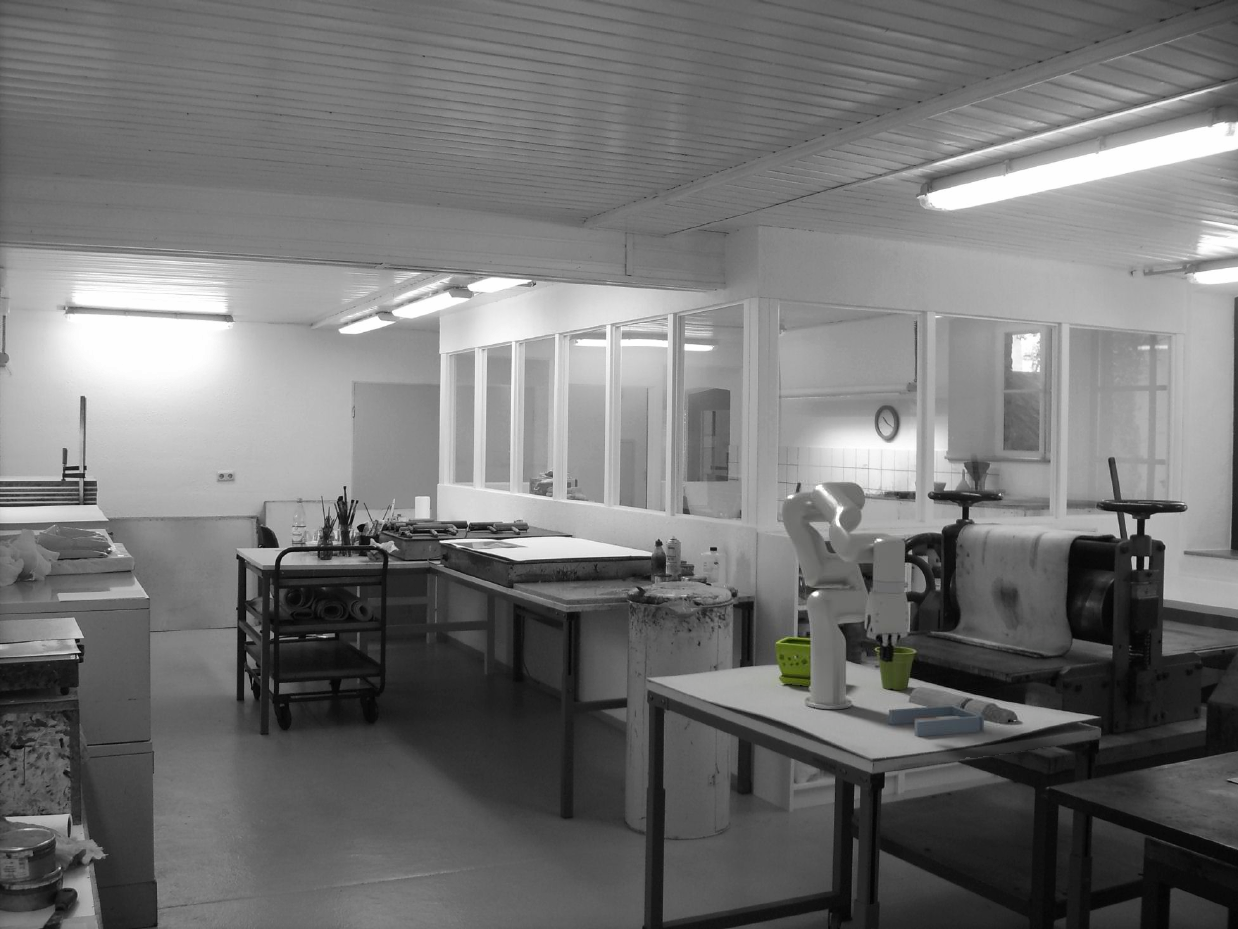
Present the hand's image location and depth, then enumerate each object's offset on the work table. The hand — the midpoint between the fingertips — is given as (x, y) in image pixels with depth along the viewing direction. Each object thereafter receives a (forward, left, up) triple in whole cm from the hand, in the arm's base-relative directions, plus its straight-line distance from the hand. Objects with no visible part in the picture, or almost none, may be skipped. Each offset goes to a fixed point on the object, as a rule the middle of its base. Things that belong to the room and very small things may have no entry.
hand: (886, 660), depth 264 cm
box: (+1, +13, -17) cm, 22 cm away
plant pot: (-43, +28, -17) cm, 54 cm away
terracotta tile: (+2, +11, -18) cm, 21 cm away
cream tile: (+2, +17, -18) cm, 25 cm away
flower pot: (-57, +5, -18) cm, 60 cm away
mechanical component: (-13, +30, -18) cm, 37 cm away
